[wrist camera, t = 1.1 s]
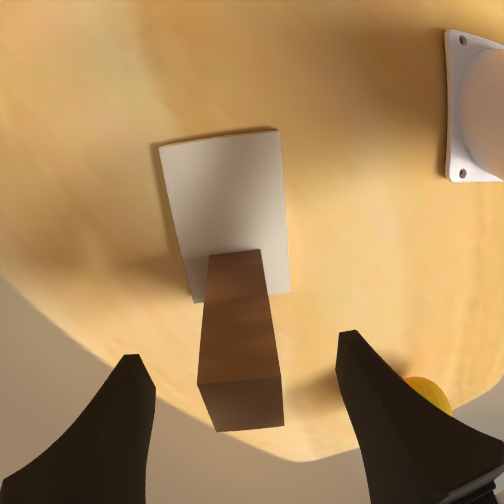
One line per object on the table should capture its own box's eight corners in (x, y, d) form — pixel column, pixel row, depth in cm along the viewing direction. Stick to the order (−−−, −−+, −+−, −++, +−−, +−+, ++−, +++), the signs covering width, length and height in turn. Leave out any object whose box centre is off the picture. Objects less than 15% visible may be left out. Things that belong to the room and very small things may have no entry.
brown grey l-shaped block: (277, 129, 13) (332, 186, 6) (289, 290, 17) (320, 420, 10) (161, 145, 13) (86, 219, 6) (195, 300, 17) (181, 432, 10)
